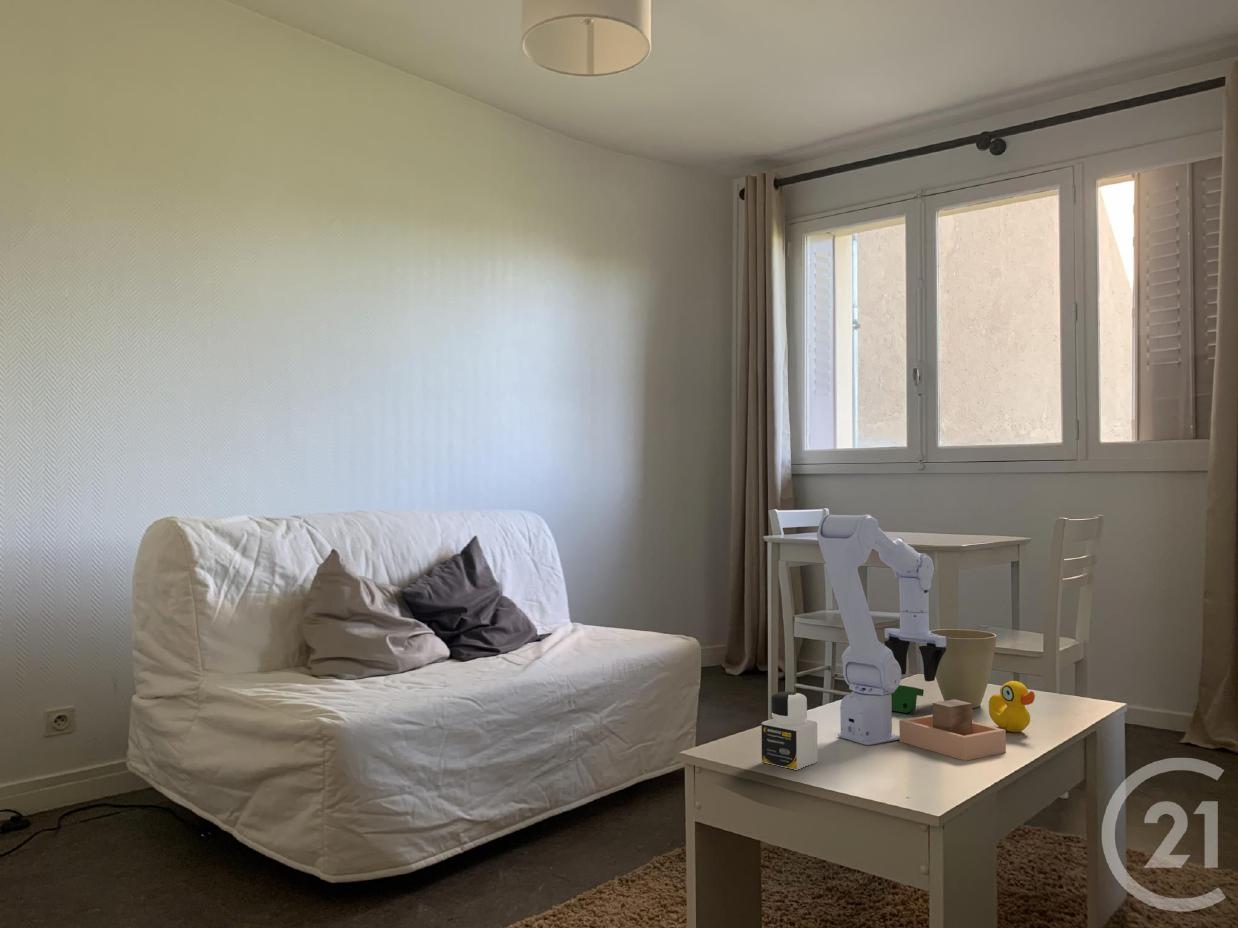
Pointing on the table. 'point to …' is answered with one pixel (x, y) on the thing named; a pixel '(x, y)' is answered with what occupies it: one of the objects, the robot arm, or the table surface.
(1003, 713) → the duckling
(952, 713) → the tan wooden block
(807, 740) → the medicine bottle
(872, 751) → the table surface
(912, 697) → the clamp
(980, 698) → the plant pot
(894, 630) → the robot arm
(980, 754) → the pink rectangular tray
